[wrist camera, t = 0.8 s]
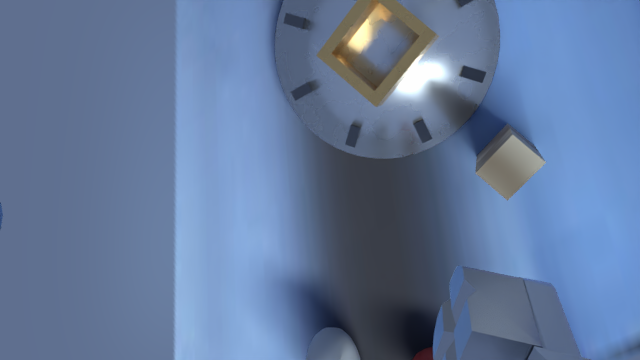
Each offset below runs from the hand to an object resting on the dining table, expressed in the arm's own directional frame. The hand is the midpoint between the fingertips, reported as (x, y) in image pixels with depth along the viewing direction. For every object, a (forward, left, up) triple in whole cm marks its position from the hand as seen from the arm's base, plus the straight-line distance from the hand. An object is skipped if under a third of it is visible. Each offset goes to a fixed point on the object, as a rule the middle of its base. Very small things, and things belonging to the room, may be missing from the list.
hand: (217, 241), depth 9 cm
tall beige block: (-1, +8, -43) cm, 44 cm away
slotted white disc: (-1, -7, -43) cm, 44 cm away
